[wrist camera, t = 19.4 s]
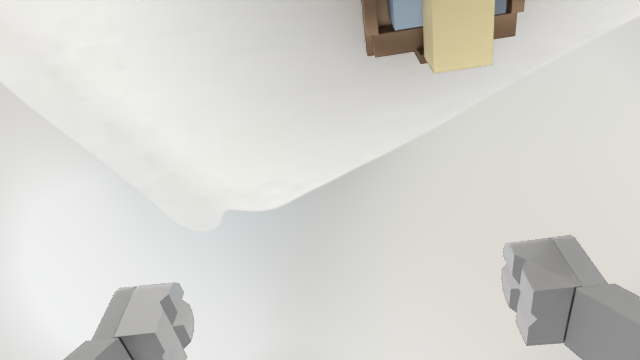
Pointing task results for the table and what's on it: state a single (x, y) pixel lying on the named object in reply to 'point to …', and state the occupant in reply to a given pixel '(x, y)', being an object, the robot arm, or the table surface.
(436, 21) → the pale yellow block
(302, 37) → the table surface
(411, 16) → the blue-grey block
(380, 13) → the frame
